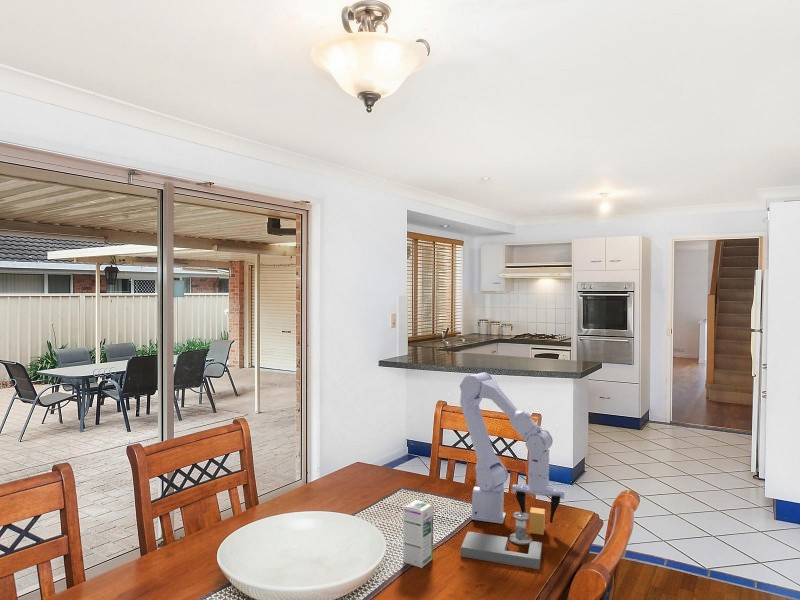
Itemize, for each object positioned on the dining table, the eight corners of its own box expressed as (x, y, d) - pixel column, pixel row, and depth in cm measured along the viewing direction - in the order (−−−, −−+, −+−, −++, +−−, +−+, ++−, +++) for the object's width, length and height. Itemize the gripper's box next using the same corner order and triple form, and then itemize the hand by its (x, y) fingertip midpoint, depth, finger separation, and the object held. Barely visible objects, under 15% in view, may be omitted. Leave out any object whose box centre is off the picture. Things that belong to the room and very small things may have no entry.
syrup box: (422, 568, 141) (423, 511, 141) (402, 562, 144) (403, 505, 144) (433, 559, 146) (434, 503, 145) (413, 553, 149) (414, 498, 149)
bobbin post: (508, 543, 156) (509, 517, 156) (510, 534, 162) (511, 509, 162) (530, 546, 154) (531, 520, 154) (532, 537, 160) (532, 512, 160)
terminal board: (460, 556, 148) (460, 547, 148) (467, 540, 157) (467, 531, 157) (539, 569, 142) (539, 559, 142) (541, 551, 151) (541, 542, 151)
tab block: (529, 532, 163) (529, 512, 163) (530, 527, 167) (531, 507, 167) (543, 535, 162) (544, 514, 162) (544, 529, 166) (544, 509, 166)
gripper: (511, 474, 162) (510, 521, 163) (564, 480, 158) (563, 528, 158) (514, 467, 169) (513, 512, 169) (564, 472, 165) (563, 518, 165)
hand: (537, 519), depth 164 cm, fingers open, 7 cm apart
